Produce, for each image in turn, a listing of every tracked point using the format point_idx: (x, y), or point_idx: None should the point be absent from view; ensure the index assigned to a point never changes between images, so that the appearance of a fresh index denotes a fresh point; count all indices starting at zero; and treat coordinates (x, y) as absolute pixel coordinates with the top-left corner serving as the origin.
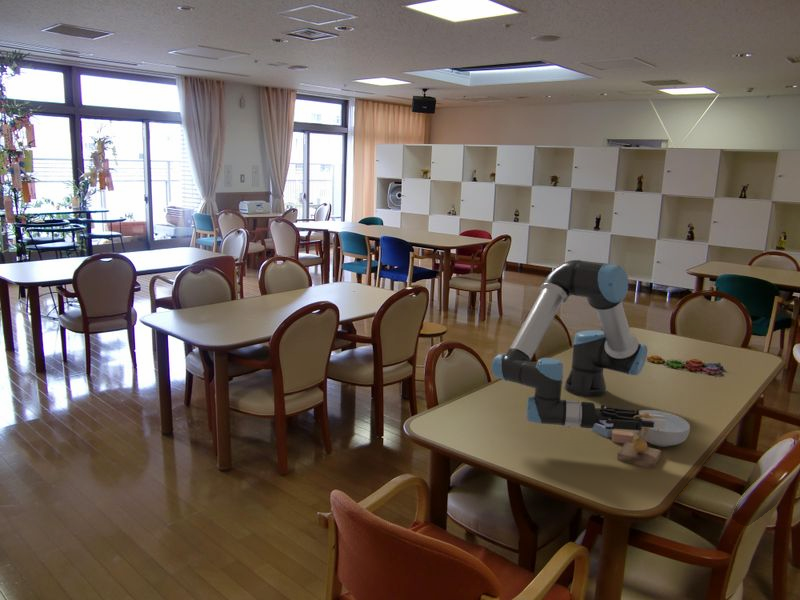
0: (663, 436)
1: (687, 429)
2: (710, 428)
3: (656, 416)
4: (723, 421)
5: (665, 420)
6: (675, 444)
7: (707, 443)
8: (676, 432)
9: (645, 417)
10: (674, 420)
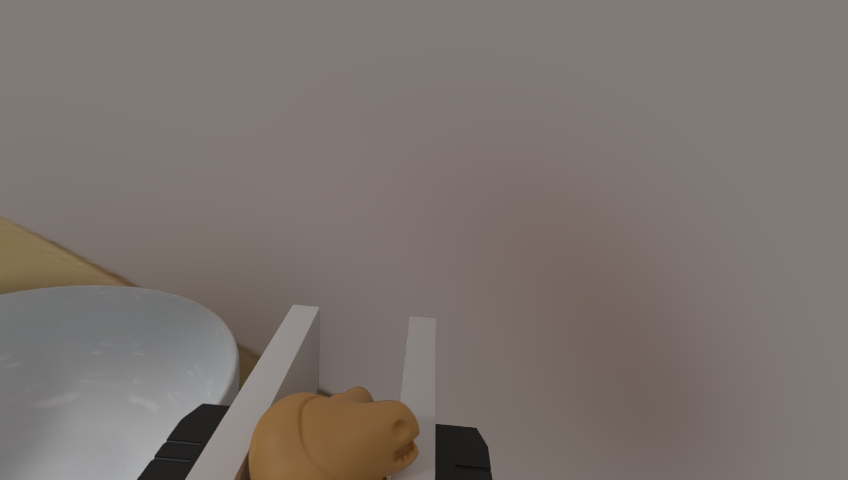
0: None
1: (209, 311)
2: (50, 280)
3: (302, 352)
4: (23, 244)
5: (429, 319)
6: None
7: None
8: (236, 362)
9: (386, 475)
10: (3, 326)
